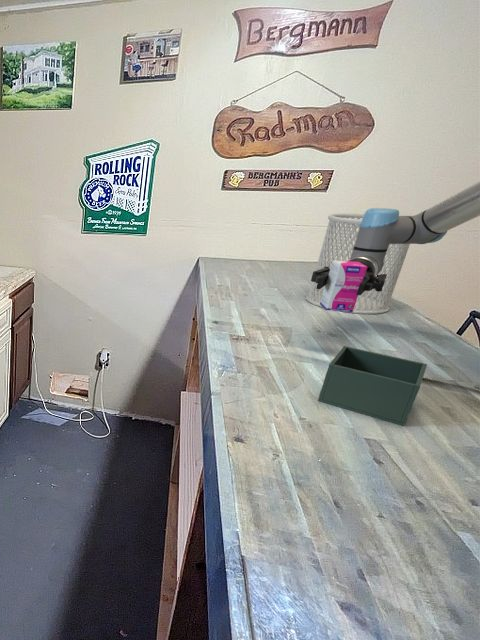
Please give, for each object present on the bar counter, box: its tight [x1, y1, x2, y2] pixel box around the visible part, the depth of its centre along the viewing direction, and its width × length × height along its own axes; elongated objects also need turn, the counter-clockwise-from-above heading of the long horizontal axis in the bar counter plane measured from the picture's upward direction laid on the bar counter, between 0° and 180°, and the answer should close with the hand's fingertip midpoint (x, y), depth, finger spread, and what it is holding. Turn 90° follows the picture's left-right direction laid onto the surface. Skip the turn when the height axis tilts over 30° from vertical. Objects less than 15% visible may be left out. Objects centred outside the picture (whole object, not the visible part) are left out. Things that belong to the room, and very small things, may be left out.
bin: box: [317, 345, 428, 427], centre depth 96 cm, size 14×14×9 cm
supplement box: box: [320, 259, 367, 313], centre depth 112 cm, size 6×6×12 cm
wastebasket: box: [305, 212, 411, 315], centre depth 158 cm, size 25×25×30 cm
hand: (339, 286), depth 109 cm, fingers closed on supplement box, 7 cm apart
